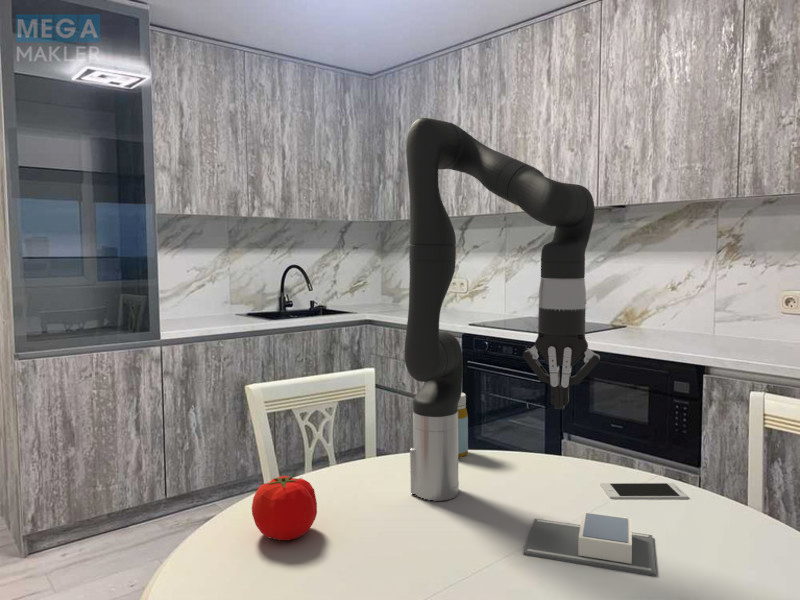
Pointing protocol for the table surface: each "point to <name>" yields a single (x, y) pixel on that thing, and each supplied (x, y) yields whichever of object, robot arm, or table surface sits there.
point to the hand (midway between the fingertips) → (559, 407)
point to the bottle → (462, 427)
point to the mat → (563, 546)
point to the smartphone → (643, 491)
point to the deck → (605, 537)
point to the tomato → (284, 508)
